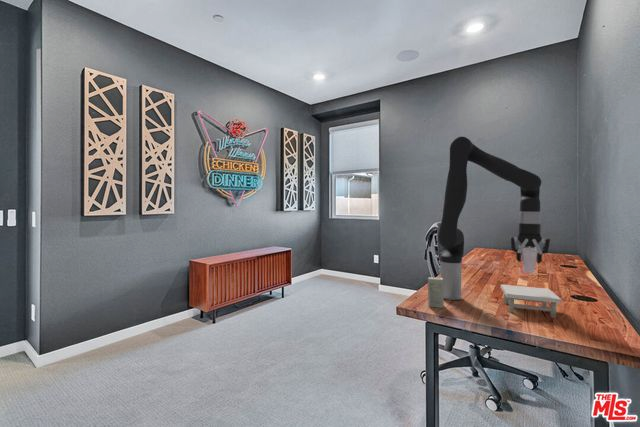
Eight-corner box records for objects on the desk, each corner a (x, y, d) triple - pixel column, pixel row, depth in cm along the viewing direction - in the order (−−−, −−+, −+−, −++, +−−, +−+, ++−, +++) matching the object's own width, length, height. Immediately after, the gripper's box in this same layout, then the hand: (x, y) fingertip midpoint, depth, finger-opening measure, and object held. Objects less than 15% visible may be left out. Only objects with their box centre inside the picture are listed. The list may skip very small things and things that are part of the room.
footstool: (506, 313, 124) (506, 293, 123) (500, 301, 138) (500, 284, 138) (560, 319, 116) (561, 299, 116) (548, 307, 131) (548, 288, 131)
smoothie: (521, 272, 125) (522, 239, 125) (517, 269, 131) (518, 237, 131) (540, 274, 123) (540, 239, 122) (535, 271, 129) (536, 238, 128)
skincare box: (443, 305, 133) (444, 277, 133) (443, 308, 129) (443, 280, 129) (428, 303, 136) (428, 276, 135) (427, 306, 132) (427, 278, 131)
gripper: (511, 222, 126) (510, 262, 126) (553, 223, 120) (552, 265, 121) (507, 221, 133) (507, 259, 133) (547, 222, 127) (546, 262, 127)
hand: (528, 262), depth 127 cm, fingers closed on smoothie, 6 cm apart
